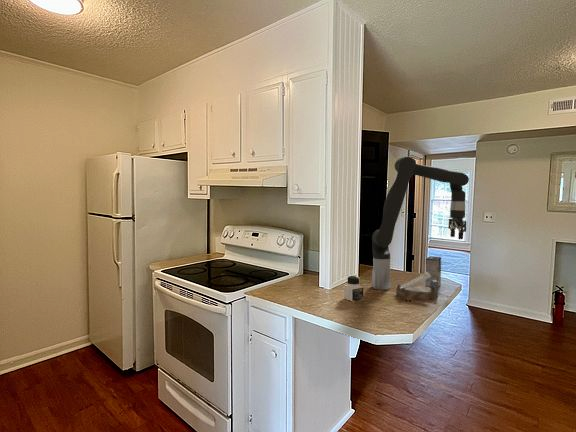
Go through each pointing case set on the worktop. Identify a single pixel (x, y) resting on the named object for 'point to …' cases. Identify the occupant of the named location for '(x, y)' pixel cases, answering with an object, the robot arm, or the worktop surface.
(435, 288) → the dark grey block
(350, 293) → the medicine bottle
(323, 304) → the worktop surface
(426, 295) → the walnut block
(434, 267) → the coffee box
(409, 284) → the clamp strap
